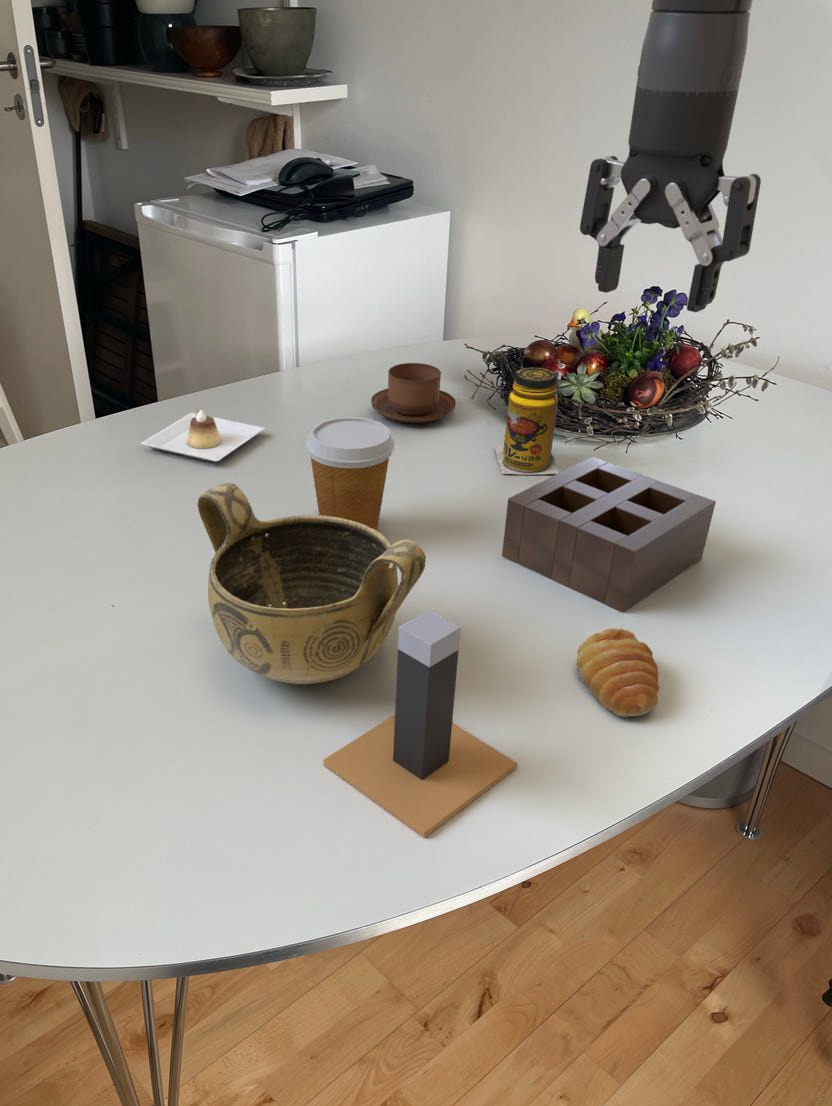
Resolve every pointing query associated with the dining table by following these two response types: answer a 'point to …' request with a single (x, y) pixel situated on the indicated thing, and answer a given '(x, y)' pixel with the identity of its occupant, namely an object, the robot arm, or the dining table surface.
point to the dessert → (202, 437)
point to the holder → (607, 531)
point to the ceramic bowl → (302, 588)
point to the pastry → (619, 672)
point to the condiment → (530, 424)
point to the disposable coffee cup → (350, 467)
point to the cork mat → (407, 794)
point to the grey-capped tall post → (425, 693)
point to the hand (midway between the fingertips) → (650, 299)
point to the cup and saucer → (413, 395)
